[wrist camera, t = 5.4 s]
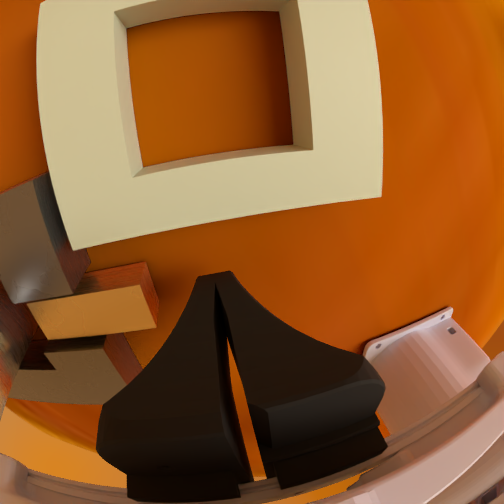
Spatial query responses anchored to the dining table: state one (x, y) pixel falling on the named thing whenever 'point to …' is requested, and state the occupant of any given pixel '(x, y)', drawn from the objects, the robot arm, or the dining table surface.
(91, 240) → the cream flat rectangular frame
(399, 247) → the dining table surface
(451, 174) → the dining table surface
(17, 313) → the shiny metal cylinder
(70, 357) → the socket block
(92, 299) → the drift key
